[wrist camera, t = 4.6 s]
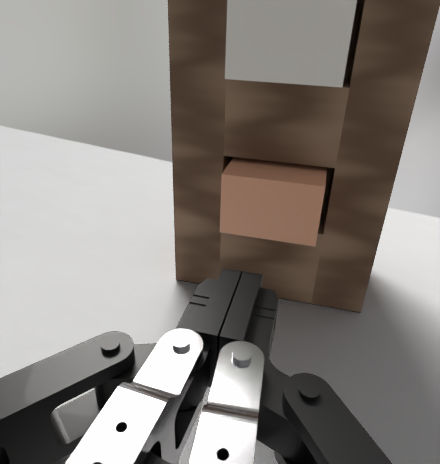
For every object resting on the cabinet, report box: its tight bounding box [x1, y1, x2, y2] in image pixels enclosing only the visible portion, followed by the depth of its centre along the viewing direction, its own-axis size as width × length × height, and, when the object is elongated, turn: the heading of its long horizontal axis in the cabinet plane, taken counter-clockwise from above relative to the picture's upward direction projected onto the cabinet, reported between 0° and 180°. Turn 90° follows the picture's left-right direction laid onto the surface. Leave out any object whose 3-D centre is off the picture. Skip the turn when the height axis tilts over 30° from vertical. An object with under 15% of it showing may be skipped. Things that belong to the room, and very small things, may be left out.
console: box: [168, 0, 440, 313], centre depth 22 cm, size 12×6×28 cm, turn 76°
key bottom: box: [220, 157, 327, 247], centre depth 22 cm, size 5×3×3 cm, turn 76°
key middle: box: [225, 0, 357, 87], centre depth 18 cm, size 5×3×3 cm, turn 76°
